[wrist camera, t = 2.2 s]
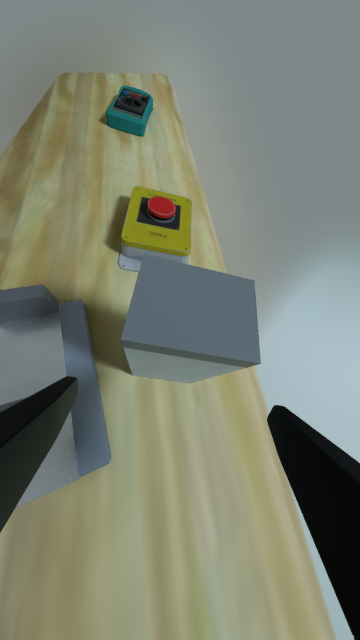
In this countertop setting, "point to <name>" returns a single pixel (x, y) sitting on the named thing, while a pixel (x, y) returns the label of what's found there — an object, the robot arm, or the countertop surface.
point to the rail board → (84, 389)
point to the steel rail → (32, 376)
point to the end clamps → (25, 308)
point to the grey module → (189, 322)
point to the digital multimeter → (130, 111)
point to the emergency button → (155, 228)
